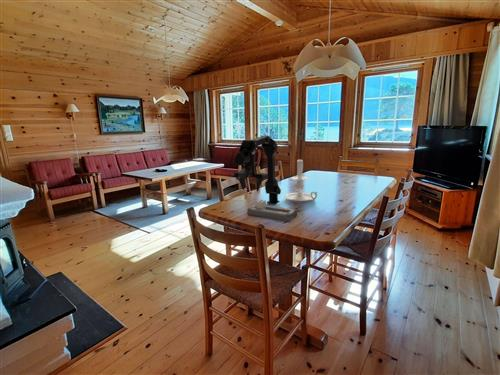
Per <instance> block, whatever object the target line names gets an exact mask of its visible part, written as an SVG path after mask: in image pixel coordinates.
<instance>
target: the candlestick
mask: <svg viewBox="0 0 500 375" xmlns="http://www.w3.org/2000/svg"><path fill="white" fill-rule="evenodd" d="M303 171H304V161H303V159H297V160H296V176H292V177H290V179H291V180H293V181H296V184H295V190H296V191H297V192H291V193H286V194H284V195H283V197H284V199H286V200H288V201H289V202H293V203H300V204H301V203H308V202H315V200H316V199H317V197H318V194H319V193H318V191H312V192H311V193H307V192H303V190H304V189H305V186H304V183H303V181H306V180H308V179H309V177H308V176H303ZM317 193H318V194H317Z"/></svg>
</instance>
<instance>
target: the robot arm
mask: <svg viewBox="0 0 500 375" xmlns="http://www.w3.org/2000/svg"><path fill="white" fill-rule="evenodd" d="M259 146H261V147H262V149H263V153H264V154H265V156H266V167H267V168H266V169H267V173H265V172H258V173H257V171H256V166H257V164H256V159H255V155H256V154H257V152H256V151H255V150H256V149H258V147H259ZM278 148H279V146H278V144H277V142H276V140H274V139H272V137H271V136H269V135H260V136H258V137H256V138H253V139H242V142H241V144H240V147H239V150H238V152H237V154H236V155H235V157H234V163H235V164H236V165H237V166H242V168H241V169H240V170H238V171H235V172H234V173H233V178H235V179H236V180H237V181H238V182H239V183H240V186H241V189H242V190H243V191H244V190H245V188H246V179H248V178H255V182H256V192H259V191H260V188H261V185H262V183H263V181H264V180H266V179H267V180H266V181H265V182H264V189H265V190H264V191H265V194H268V201H266V202H267V204H273V205H274V204H275V205H277V204H278V203H280V202H281V201H280V200H278V199H279V198H278V196H279V195H281V193H282V189H281V188H280V186H279V182H278V180H277V179H276V162H275V161H276V158H275V156H276V154H277V152H278Z"/></svg>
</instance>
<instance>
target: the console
mask: <svg viewBox="0 0 500 375" xmlns="http://www.w3.org/2000/svg"><path fill="white" fill-rule="evenodd" d="M246 215H251V216H256V217H262V218H268V219H274V220H280V221H285V222H289V221H291V220H292V219H294V218H295V217H296V216H297V215H298V211H297V209H295V208H289V207H282V206H276V205H275V206H274V205H267V204H266V209H259V208H256V204H254V205H252V206H249V207H248V208H247V211H246ZM294 216H295V217H294Z"/></svg>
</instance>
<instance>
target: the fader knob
mask: <svg viewBox="0 0 500 375" xmlns="http://www.w3.org/2000/svg"><path fill="white" fill-rule="evenodd" d="M266 202H267V200H263V199H258V200H256V201H255V205H256V208H259V209H266V205H267V204H266Z"/></svg>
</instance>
